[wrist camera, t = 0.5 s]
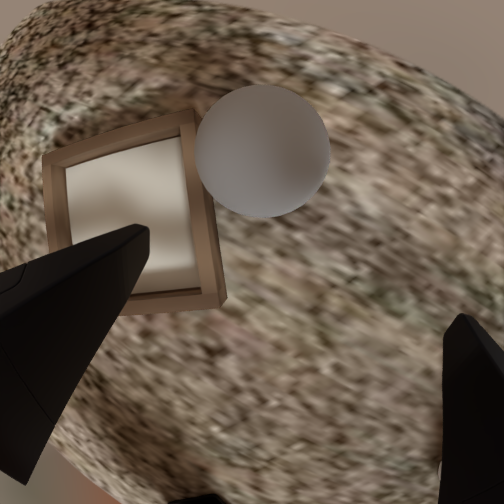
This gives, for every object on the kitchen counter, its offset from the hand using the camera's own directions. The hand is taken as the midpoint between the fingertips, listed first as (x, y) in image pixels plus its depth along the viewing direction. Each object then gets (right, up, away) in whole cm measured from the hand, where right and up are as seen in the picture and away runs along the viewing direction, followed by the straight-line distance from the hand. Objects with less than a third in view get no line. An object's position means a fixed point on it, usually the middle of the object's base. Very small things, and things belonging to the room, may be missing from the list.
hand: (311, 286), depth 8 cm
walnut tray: (-11, +3, +15) cm, 19 cm away
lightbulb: (0, +6, +14) cm, 15 cm away
